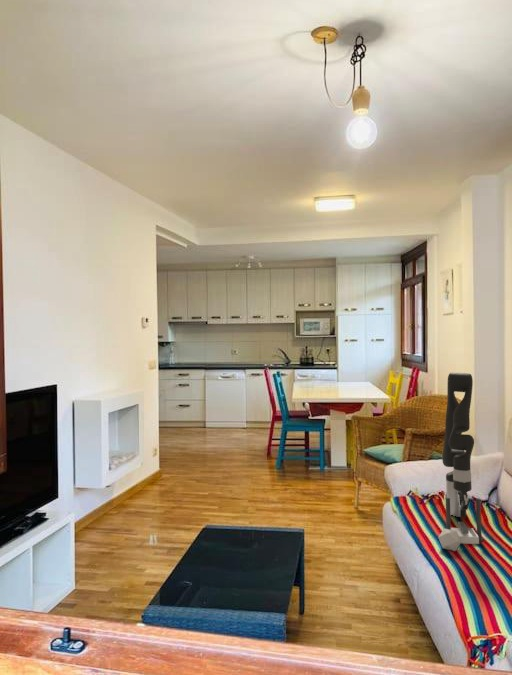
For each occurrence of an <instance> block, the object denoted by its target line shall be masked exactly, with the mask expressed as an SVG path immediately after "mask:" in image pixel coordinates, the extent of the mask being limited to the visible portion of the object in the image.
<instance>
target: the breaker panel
mask: <svg viewBox="0 0 512 675" xmlns="http://www.w3.org/2000/svg"><path fill="white" fill-rule="evenodd" d="M451 530H455V531H457V533H458V535H459V538H460V540H461V543H460V544H466V545H467V544H468V545H469V544H470V545H471V544H474V545H480V541H479V536H478V535H477V531H475V530H474V528H473V527H468V532H469V534H462V531H461V530H460V528H459V527H451Z"/></svg>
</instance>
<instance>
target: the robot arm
mask: <svg viewBox="0 0 512 675" xmlns="http://www.w3.org/2000/svg"><path fill="white" fill-rule="evenodd" d="M473 380H474V379H473V376H472V374H471V373H466V372H450V373H449V374H448V376H447V389H446V390H447V396H446V398H447V402H446V404H447V405H446V413H445V426H444V429H445V430H444V431H445V432H444V440H443V442H444V443H443V448H442V455H441V456H442V457H441V458H442V459H441V461H442V464H443V466H444V467H447V468H453V471H450V472H447V473H446V474H445V483H446V484H445V485H446V486H445V487H446V489H445V490H446V498H450V516H451V515H453V516H452V517H455V516H456V517H455V518H457V517H458V518H461V519H466V518H467V511H468V509H469V505H470V500H468V499H469V494H468V492H471V490H472V472H471V456H472V452H473V450H474V446H475V439H474V437H473V436H472V435H471V434H463V433H466V432H468V431H470V427H471V425H470V423H471V422H470V411H471V404H472V395H473V386H474V385H473V384H474V383H473V382H474V381H473ZM456 392H457V393H464V396H463V398H462V399H461V401H460V402H459V401H458V400H457V397H456V395H455V394H456Z"/></svg>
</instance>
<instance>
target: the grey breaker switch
mask: <svg viewBox="0 0 512 675" xmlns="http://www.w3.org/2000/svg"><path fill="white" fill-rule="evenodd" d="M457 523H458V528H460V524H465V521H458V522H457Z"/></svg>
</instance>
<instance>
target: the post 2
mask: <svg viewBox="0 0 512 675" xmlns="http://www.w3.org/2000/svg"><path fill="white" fill-rule="evenodd" d="M475 502H476V503H475V505H476V506H475V508H476V509H475V510H476V513H475V514H476V534H477V535H478V536H479V542H483V541H484V537H483V536H482V512H481V511H482V506H481V498H479V497H478V498H475Z"/></svg>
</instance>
